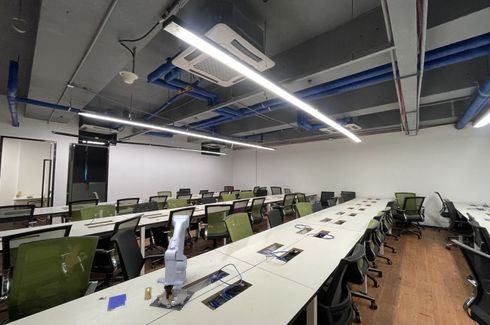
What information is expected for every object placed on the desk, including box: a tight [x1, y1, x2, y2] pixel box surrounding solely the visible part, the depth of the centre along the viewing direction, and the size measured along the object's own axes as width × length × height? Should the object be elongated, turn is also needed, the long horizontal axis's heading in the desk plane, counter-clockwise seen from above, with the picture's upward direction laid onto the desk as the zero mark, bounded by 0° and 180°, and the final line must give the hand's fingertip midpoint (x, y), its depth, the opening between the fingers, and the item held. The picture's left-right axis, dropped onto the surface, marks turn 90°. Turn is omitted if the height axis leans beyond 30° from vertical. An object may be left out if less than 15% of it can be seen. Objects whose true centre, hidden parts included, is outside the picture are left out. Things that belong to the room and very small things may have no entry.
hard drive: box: [106, 293, 127, 313], centre depth 108 cm, size 2×8×12 cm
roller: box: [144, 286, 152, 301], centre depth 112 cm, size 3×3×6 cm
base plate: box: [148, 290, 196, 312], centre depth 112 cm, size 18×18×1 cm
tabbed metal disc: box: [156, 287, 191, 308], centre depth 112 cm, size 18×18×5 cm
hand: (168, 298), depth 108 cm, fingers closed, pressing on tabbed metal disc
